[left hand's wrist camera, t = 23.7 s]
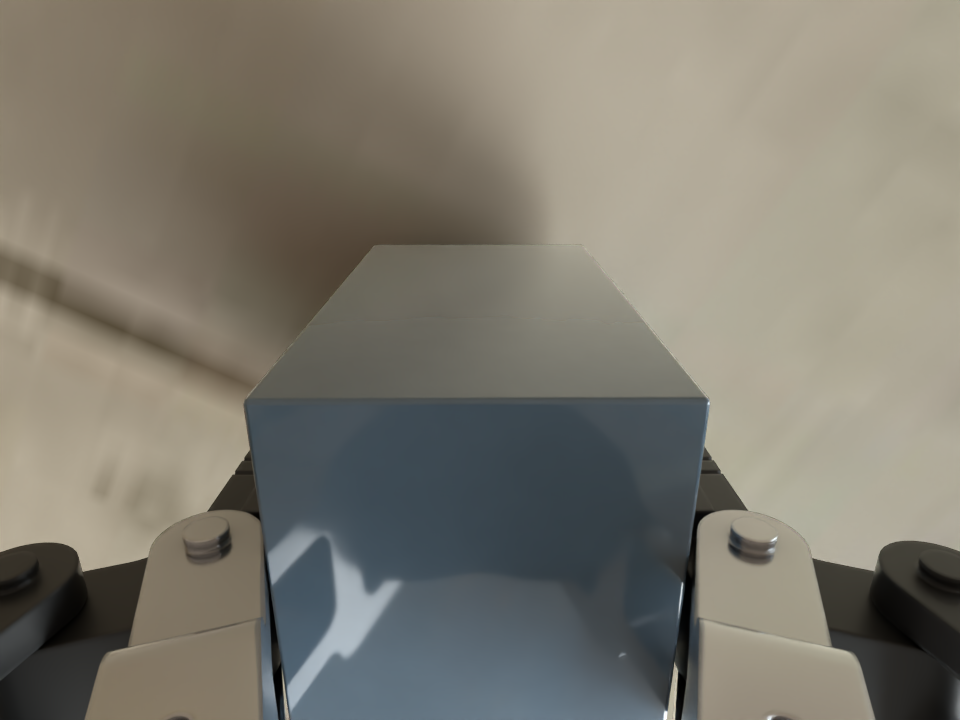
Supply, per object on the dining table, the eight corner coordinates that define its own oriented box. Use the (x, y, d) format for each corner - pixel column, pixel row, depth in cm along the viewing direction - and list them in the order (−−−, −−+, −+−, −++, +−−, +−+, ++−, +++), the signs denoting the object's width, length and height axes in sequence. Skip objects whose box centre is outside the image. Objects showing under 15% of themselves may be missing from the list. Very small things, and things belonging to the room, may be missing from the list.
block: (388, 487, 16) (303, 827, 9) (373, 244, 14) (240, 400, 6) (570, 486, 16) (654, 826, 9) (583, 243, 14) (713, 398, 6)
